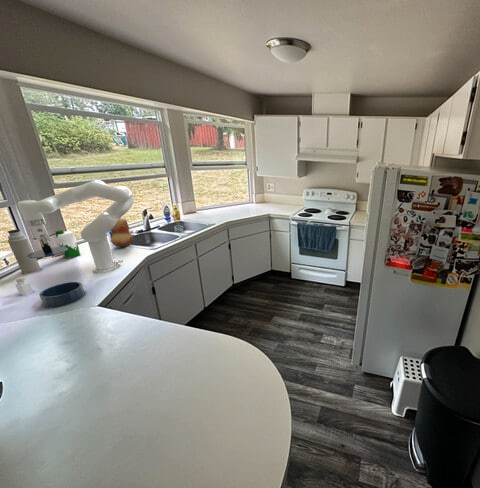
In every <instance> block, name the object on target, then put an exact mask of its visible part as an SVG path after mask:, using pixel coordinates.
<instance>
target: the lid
mask: <svg viewBox="0 0 480 488" xmlns="http://www.w3.org/2000/svg"><path fill="white" fill-rule="evenodd" d="M41 246H42V244H40V247H41ZM51 249H52V252H50V253H44V252H43V249H42V248H41V249H38V250H35V251H33V252H32V253H30V254H28V255H27V257H28V258H36V259H42V258H49V257H54V256H56V255H60V254H63V252H65V251H67V248H66V247H60V246H55V247H53V246H52V247H51Z"/></svg>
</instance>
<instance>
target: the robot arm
mask: <svg viewBox="0 0 480 488" xmlns="http://www.w3.org/2000/svg"><path fill="white" fill-rule="evenodd" d="M133 195H134V194H133V192H132V191H131V189H129V188H128V187H127V186H124V185H119V186H113V185H109V184H106V182H104V181H103V180H99V179H96V180H92V181H88V182H85V183H83V184H80V185H77V186H75V187H72V188H69V189H67V190H65V191H63V192H60V193H56V194H53V195H51V196H48V197H46V198H43V199H41V200H34V199H26V200H20V201H18V202H17V207H18V208H19V212H20V214H21V216H22V218H23V221H24V223H25V225H26V227H28V228H29V227H30V228H31V231H32V234H33V236H34V237H35V239H36V241H37V242H38V243H40V247H41V250H42V249H43V252H44V253H50V252H52V249H51V248H52V246H51V245H50V243H49V242H50V241H52V239H51V237H50V235H49V232H48V230H47V228H46V226H45V225H46V224H47V223H46V220H45V217H44V214H52V213H54V212H56V211H57V210H59V209H61V208H64V207H66V206H70V205H72V204H76V203H82V202H85V201H87V200H90V199H94V198H96V197H97V198H101V199H105V200H108V201H113V203H112V204H111V205H109V207H108V208H106V209H105V210H104V211H102V212H101V213H99V214H98V216H96V217H95V219H93V220H92V221H91V222H90V223H88V224H86V225H85V226H84V227H83V229H82V230H81V231H80V237H81V238H82V240H84V241H85V242H87V243H88V247H89V250H90V253H91V256H92V260H93V263H94V265H95V267H94V268H93V272H94V273H105V272H106V273H107V272H109V271H114V270H117V268H119V264H121V263H124V259H116V260H115V259H114V257H113V254H112V251H111V247H110V244H109V240H108V236H107V234H108V233H109V232H111V229H112V228H113V227H114V226H115V225H116V223H117V221H118V220H119V219H120V218H121V217H124V215H126V214H127V213H128V212H129V211H130V210H131V208H132V207H133V204H134V196H133ZM41 244H42V246H41Z"/></svg>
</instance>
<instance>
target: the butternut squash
mask: <svg viewBox="0 0 480 488" xmlns="http://www.w3.org/2000/svg"><path fill="white" fill-rule="evenodd" d="M110 233H111V239H110V242H111V244H112V245H113V246H115V247H117V248H118V247H120V248H125V247H129V246H130V245H132V244H133V242H134V237H133V234H132V233H131V232H130V226H129V224H128V220H127V218H126V217H124V216H122V217H121V218H120V219H119V220H118V221H117V223H116V225H115V226H114V227H113V228H112V229H111V230H110Z"/></svg>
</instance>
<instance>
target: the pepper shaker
mask: <svg viewBox="0 0 480 488" xmlns="http://www.w3.org/2000/svg"><path fill="white" fill-rule="evenodd" d="M14 280H15V281H16V285H15V287H16V290H17V292H18V294H19V295H22V296H23V295H24V296H25V295H28V294H31V293H33V292H34V289H33V287H32V285H31V282H29V281H27V279H26V277H25V276H19V277H17V278H15V279H14Z"/></svg>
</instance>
